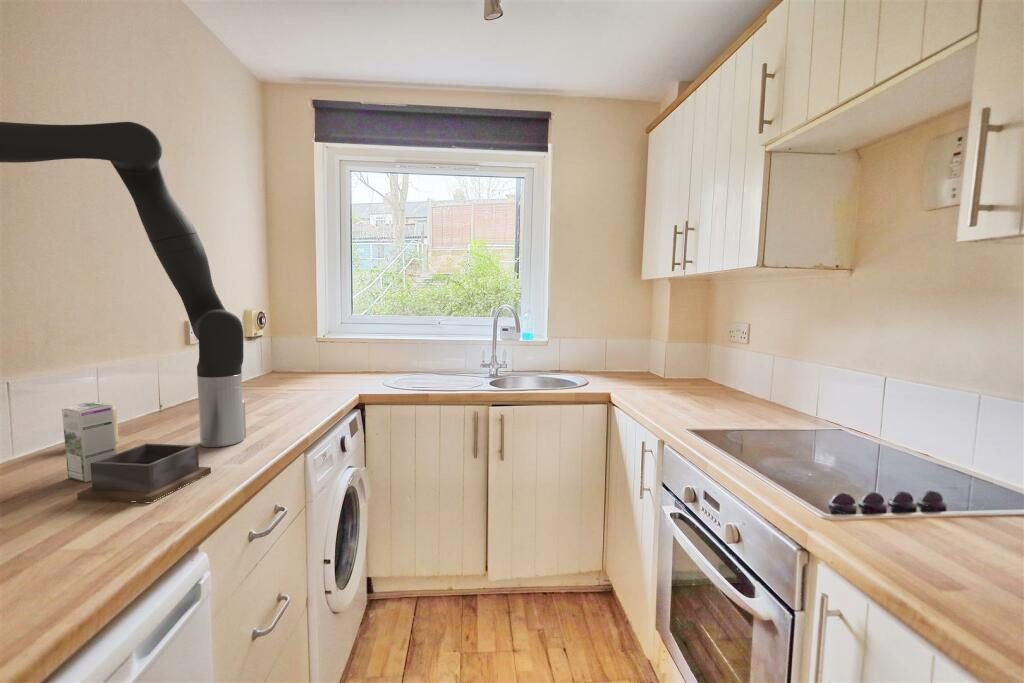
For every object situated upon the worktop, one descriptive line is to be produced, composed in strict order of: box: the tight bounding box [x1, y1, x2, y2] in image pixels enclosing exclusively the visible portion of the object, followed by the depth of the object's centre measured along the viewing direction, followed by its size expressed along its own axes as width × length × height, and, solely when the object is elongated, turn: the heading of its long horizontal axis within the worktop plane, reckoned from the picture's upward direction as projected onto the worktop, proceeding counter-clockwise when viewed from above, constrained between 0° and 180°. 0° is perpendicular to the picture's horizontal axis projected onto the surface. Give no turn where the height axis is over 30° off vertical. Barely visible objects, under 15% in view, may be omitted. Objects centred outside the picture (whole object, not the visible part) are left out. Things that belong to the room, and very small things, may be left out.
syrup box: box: [61, 401, 117, 483], centre depth 88 cm, size 6×6×14 cm
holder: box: [76, 443, 212, 503], centre depth 85 cm, size 14×14×6 cm
